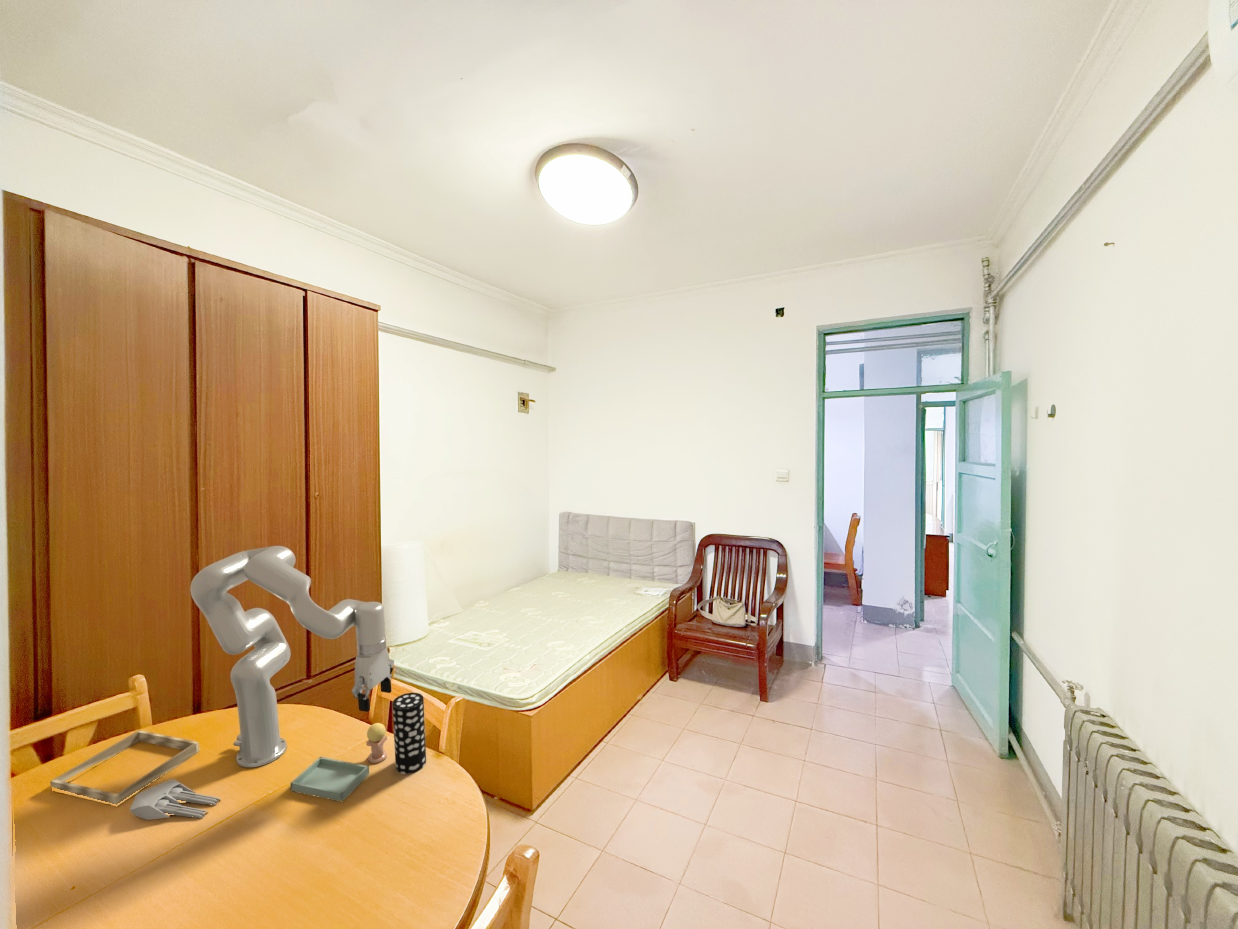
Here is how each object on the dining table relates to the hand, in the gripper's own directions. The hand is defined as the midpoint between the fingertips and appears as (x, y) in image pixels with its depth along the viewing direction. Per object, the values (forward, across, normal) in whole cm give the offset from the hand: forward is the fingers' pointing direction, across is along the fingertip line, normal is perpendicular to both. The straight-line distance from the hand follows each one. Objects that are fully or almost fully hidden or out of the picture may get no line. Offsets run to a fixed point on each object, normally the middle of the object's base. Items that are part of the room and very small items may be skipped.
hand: (375, 701), depth 163 cm
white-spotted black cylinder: (+18, 0, +10) cm, 21 cm away
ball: (+12, 0, 0) cm, 12 cm away
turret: (+18, +30, -39) cm, 52 cm away
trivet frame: (+17, +22, -64) cm, 70 cm away
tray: (+18, +12, -6) cm, 23 cm away
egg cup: (+18, 0, 0) cm, 18 cm away
